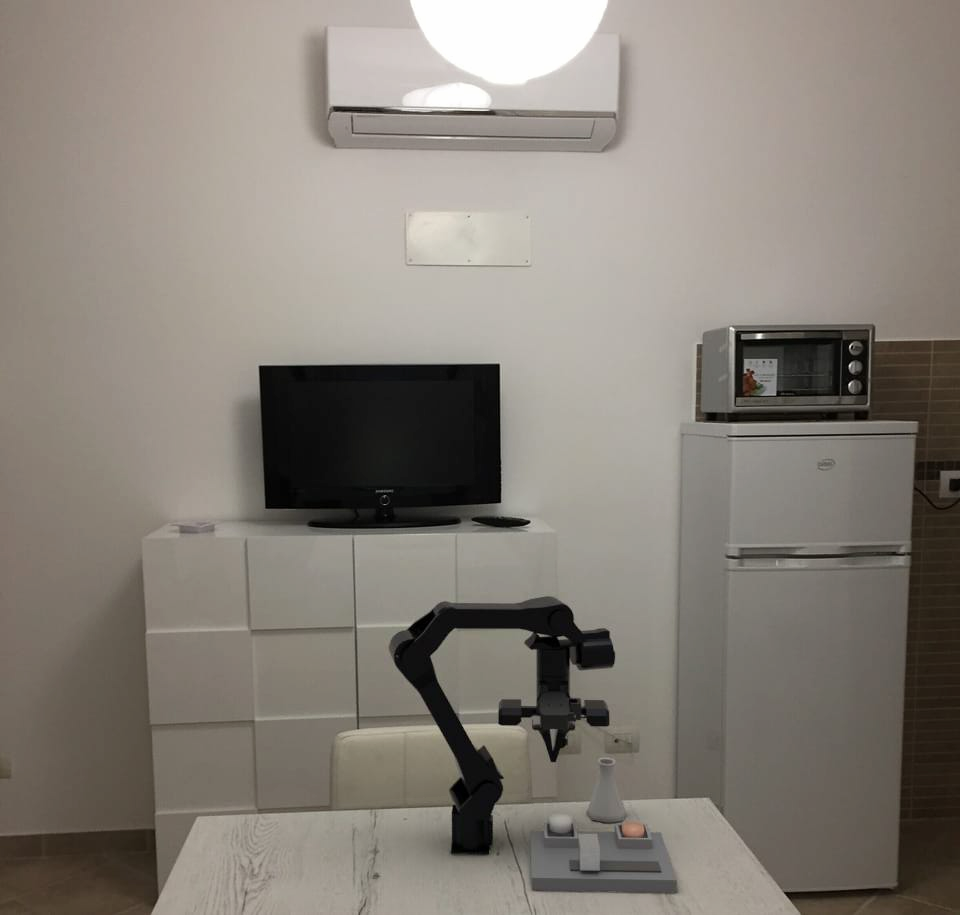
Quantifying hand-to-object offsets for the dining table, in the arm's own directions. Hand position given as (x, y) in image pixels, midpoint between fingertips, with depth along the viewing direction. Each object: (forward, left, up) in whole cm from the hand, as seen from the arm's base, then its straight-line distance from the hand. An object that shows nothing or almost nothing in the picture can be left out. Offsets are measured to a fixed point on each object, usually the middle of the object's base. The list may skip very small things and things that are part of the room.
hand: (553, 761), depth 150 cm
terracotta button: (+13, -5, -11) cm, 18 cm away
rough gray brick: (+5, -14, -10) cm, 18 cm away
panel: (+7, -10, -13) cm, 18 cm away
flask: (+10, +8, -13) cm, 18 cm away
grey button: (+1, -6, -9) cm, 11 cm away
